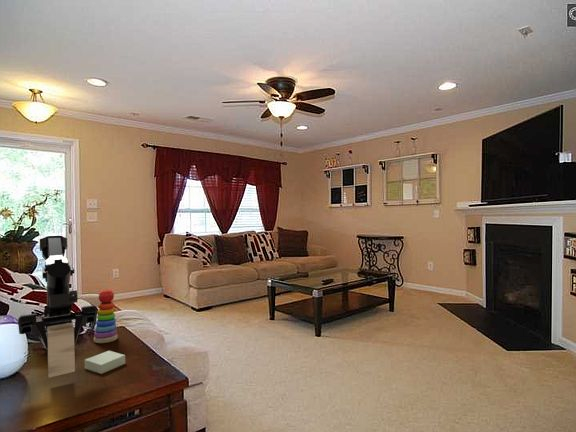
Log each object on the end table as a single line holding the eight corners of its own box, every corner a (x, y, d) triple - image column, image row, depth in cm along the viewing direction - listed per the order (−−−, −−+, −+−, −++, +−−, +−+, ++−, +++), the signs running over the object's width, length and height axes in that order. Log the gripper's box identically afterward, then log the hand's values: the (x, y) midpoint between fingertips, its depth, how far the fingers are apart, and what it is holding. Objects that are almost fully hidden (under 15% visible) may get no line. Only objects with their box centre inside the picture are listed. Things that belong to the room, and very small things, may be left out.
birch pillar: (48, 369, 99) (47, 326, 99) (73, 363, 102) (72, 322, 102) (48, 377, 94) (47, 332, 94) (74, 371, 98) (74, 328, 97)
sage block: (84, 369, 108) (84, 359, 108) (109, 359, 115) (108, 350, 115) (101, 375, 104) (100, 365, 104) (125, 364, 111) (125, 355, 111)
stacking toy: (107, 345, 127) (106, 292, 127) (88, 343, 129) (87, 291, 128) (122, 337, 135) (121, 287, 134) (104, 336, 136) (103, 287, 136)
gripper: (17, 286, 96) (16, 339, 87) (96, 278, 106) (101, 324, 97) (19, 308, 102) (18, 360, 94) (93, 298, 113) (98, 344, 104)
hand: (61, 346), depth 97 cm, fingers closed on birch pillar, 6 cm apart
